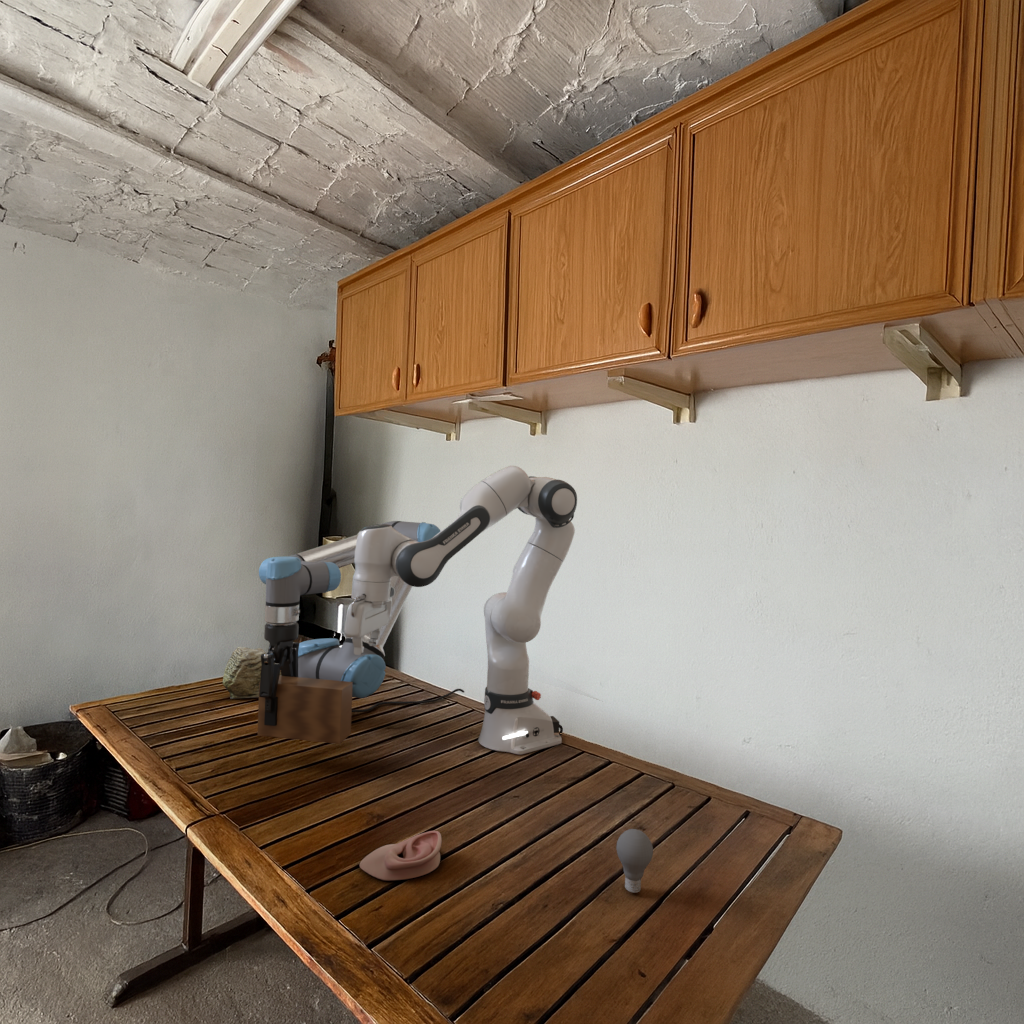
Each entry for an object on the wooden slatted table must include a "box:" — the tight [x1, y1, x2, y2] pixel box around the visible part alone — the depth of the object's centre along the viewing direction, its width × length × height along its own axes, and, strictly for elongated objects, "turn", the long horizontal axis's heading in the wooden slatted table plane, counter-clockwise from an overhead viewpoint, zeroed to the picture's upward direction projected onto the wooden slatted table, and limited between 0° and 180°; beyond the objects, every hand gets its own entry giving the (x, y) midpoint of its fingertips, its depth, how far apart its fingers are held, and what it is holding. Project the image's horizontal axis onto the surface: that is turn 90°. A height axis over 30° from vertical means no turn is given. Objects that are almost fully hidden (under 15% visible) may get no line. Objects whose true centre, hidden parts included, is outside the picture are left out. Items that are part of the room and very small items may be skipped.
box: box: [257, 676, 353, 745], centre depth 148 cm, size 20×6×12 cm, turn 81°
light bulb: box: [615, 828, 654, 894], centre depth 106 cm, size 6×6×10 cm
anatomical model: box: [359, 830, 443, 882], centre depth 111 cm, size 13×4×12 cm
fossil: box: [222, 646, 281, 699], centre depth 198 cm, size 9×18×15 cm, turn 132°
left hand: (278, 719), depth 150 cm, fingers closed on box, 6 cm apart
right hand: (366, 649), depth 150 cm, fingers open, 8 cm apart
